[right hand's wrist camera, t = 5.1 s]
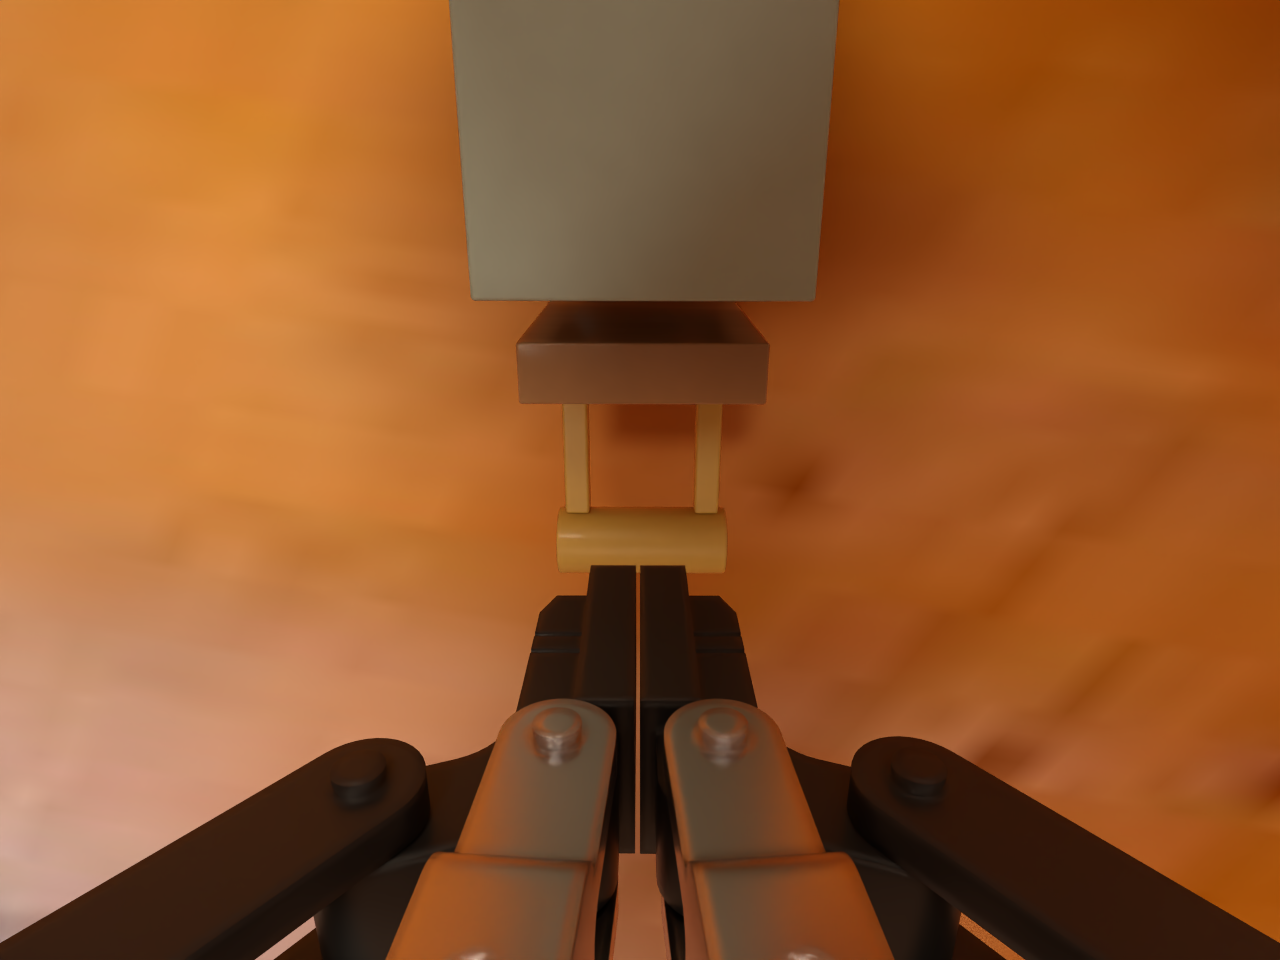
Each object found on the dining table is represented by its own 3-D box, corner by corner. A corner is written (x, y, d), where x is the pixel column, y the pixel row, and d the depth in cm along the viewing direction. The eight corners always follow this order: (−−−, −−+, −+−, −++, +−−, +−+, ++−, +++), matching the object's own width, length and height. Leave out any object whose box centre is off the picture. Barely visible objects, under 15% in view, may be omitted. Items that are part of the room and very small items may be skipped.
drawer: (715, 493, 25) (751, 642, 17) (567, 492, 25) (531, 641, 17) (753, -447, 17) (853, -1023, 9) (536, -447, 17) (440, -1025, 9)
